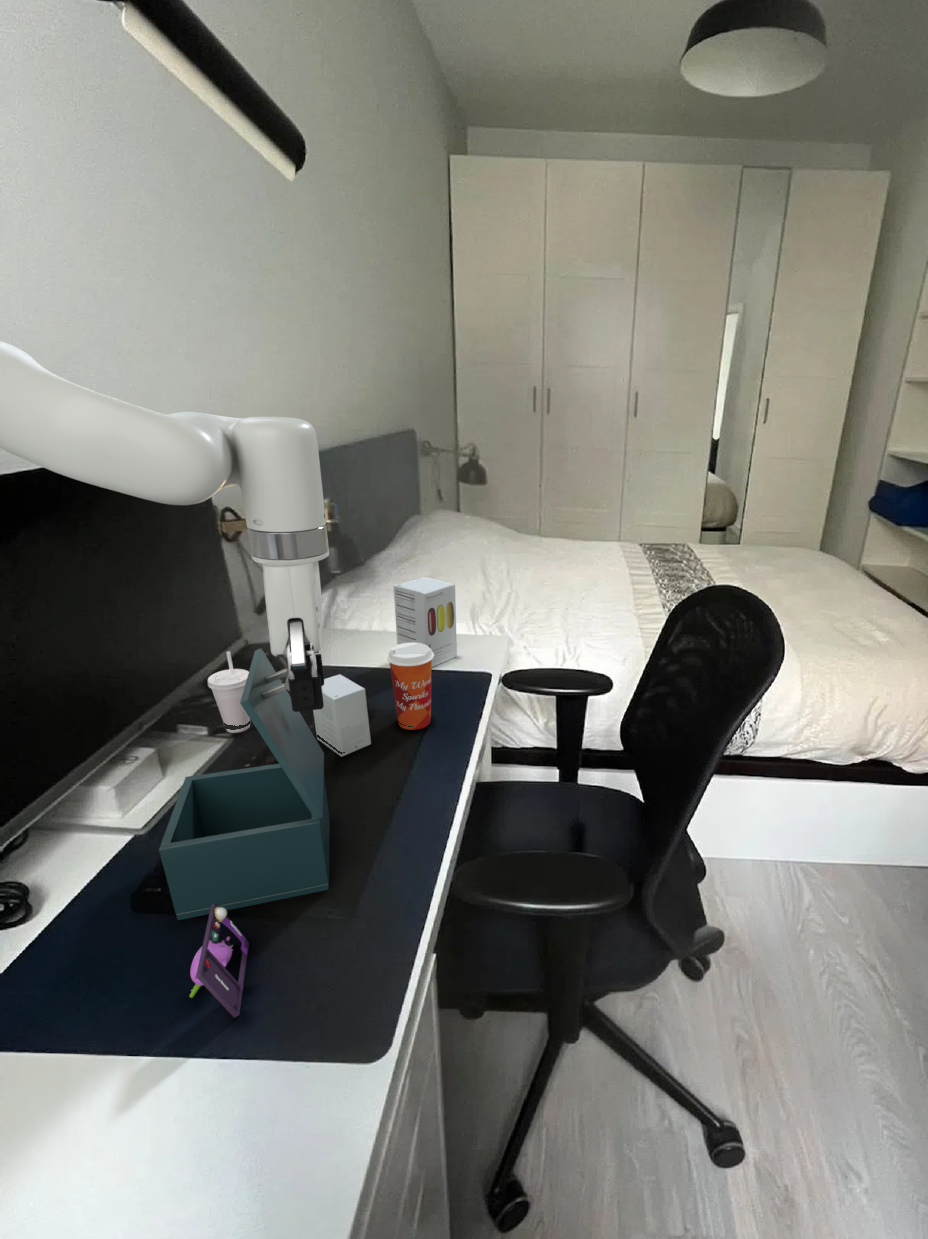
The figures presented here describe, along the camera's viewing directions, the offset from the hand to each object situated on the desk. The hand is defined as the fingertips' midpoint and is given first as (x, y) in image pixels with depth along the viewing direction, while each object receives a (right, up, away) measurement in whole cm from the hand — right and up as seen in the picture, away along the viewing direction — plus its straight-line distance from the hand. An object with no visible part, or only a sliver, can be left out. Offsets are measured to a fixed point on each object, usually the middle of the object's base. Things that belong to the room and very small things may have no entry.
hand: (309, 696), depth 72 cm
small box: (-8, -11, +33) cm, 35 cm away
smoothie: (-27, -9, +36) cm, 46 cm away
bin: (-8, -22, +6) cm, 24 cm away
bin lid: (-3, -4, +1) cm, 5 cm away
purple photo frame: (-5, -28, -10) cm, 30 cm away
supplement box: (-1, +2, +66) cm, 66 cm away
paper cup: (+2, -8, +40) cm, 41 cm away
